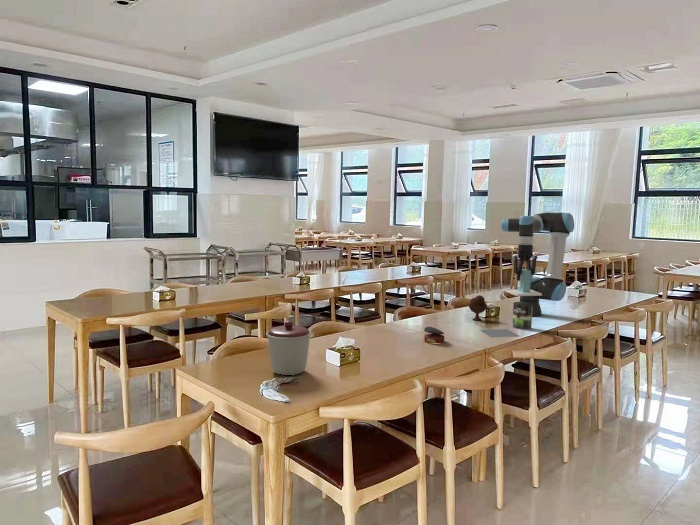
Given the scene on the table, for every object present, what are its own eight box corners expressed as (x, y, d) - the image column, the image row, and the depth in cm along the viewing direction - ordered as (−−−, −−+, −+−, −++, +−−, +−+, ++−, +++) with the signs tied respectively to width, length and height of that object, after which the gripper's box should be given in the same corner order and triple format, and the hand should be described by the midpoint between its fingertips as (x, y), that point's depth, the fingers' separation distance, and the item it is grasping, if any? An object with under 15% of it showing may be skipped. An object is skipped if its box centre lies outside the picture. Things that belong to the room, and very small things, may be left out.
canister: (277, 363, 222) (277, 315, 219) (317, 367, 216) (317, 317, 214) (258, 376, 204) (257, 324, 202) (301, 381, 199) (301, 327, 197)
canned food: (423, 350, 260) (417, 331, 263) (440, 346, 264) (434, 327, 267) (433, 345, 250) (427, 325, 253) (451, 341, 254) (444, 321, 257)
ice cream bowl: (484, 318, 314) (485, 293, 312) (487, 322, 303) (488, 297, 301) (466, 317, 315) (467, 293, 313) (469, 321, 304) (470, 296, 302)
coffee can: (526, 331, 281) (528, 305, 280) (509, 328, 288) (510, 303, 287) (534, 328, 289) (536, 303, 287) (517, 325, 296) (518, 301, 294)
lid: (529, 291, 294) (530, 268, 293) (541, 295, 280) (542, 271, 279) (505, 291, 292) (506, 268, 291) (517, 295, 278) (518, 271, 277)
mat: (507, 330, 284) (507, 329, 284) (520, 337, 268) (520, 336, 268) (479, 330, 282) (479, 329, 282) (491, 338, 266) (491, 337, 266)
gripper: (536, 243, 288) (535, 285, 291) (507, 243, 286) (506, 285, 288) (543, 244, 281) (541, 287, 283) (513, 244, 278) (512, 287, 281)
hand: (523, 286), depth 286 cm, fingers closed on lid, 4 cm apart
